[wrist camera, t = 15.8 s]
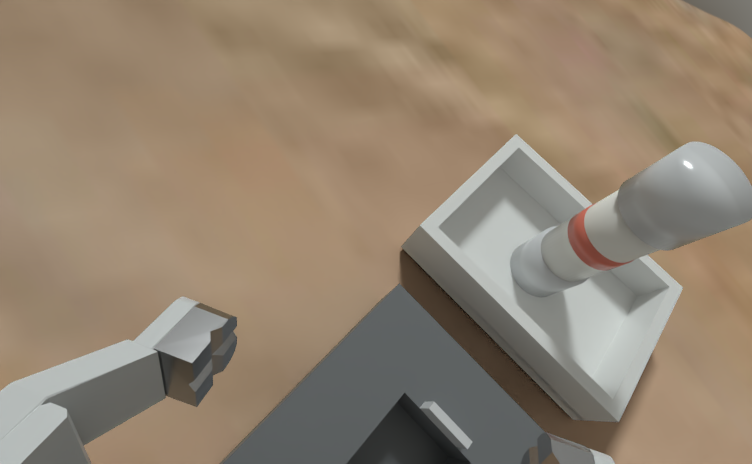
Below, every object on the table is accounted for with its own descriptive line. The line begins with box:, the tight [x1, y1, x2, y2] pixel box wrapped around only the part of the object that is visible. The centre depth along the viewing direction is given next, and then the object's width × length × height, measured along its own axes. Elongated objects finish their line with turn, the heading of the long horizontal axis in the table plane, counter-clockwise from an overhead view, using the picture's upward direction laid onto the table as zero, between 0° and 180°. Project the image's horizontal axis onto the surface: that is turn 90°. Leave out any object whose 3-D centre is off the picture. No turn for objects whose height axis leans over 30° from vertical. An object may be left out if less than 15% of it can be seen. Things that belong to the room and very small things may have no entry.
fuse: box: [510, 142, 752, 297], centre depth 21 cm, size 4×4×12 cm
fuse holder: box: [220, 284, 545, 464], centre depth 19 cm, size 12×12×5 cm
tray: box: [401, 134, 683, 422], centre depth 26 cm, size 15×11×4 cm
